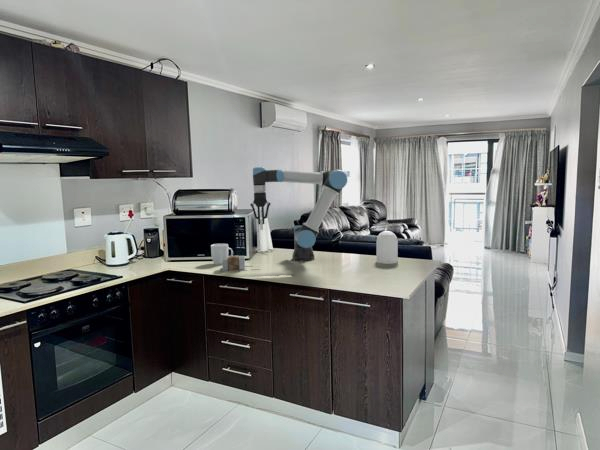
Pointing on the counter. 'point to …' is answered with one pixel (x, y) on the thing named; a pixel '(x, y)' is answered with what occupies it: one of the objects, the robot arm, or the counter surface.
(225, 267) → the fixed jaw
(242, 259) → the free jaw
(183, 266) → the counter surface
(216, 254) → the mug
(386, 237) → the container
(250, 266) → the vise base
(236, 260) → the block
